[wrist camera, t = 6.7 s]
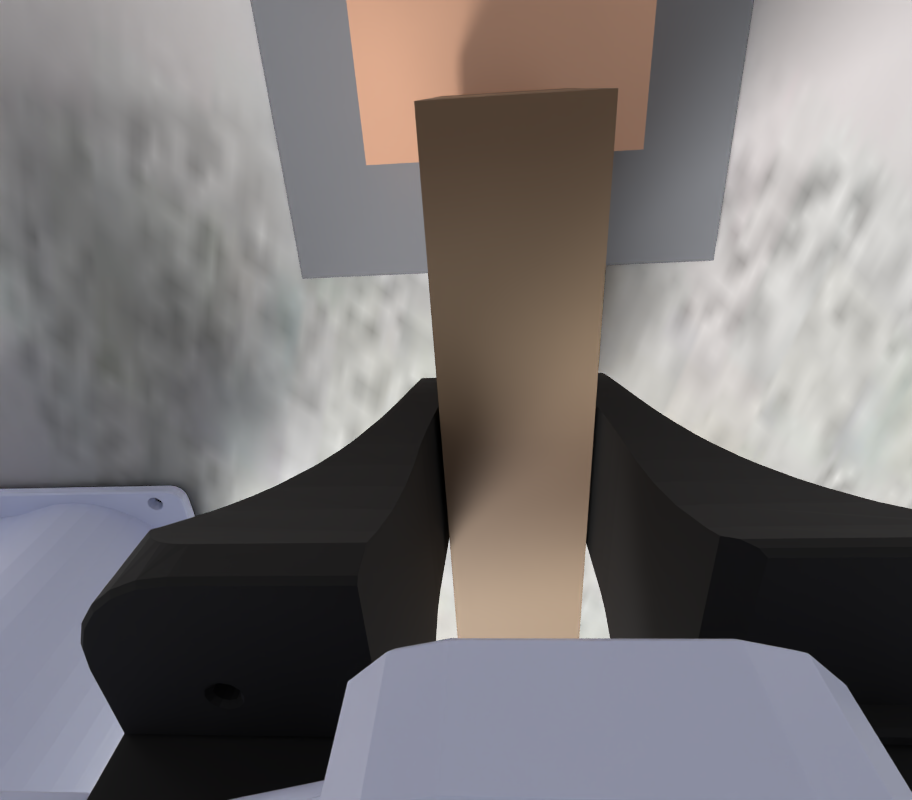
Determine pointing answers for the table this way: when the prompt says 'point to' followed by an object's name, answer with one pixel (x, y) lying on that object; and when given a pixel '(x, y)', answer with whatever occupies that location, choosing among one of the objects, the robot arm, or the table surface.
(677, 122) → the mat
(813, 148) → the table surface
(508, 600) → the bar
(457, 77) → the block
